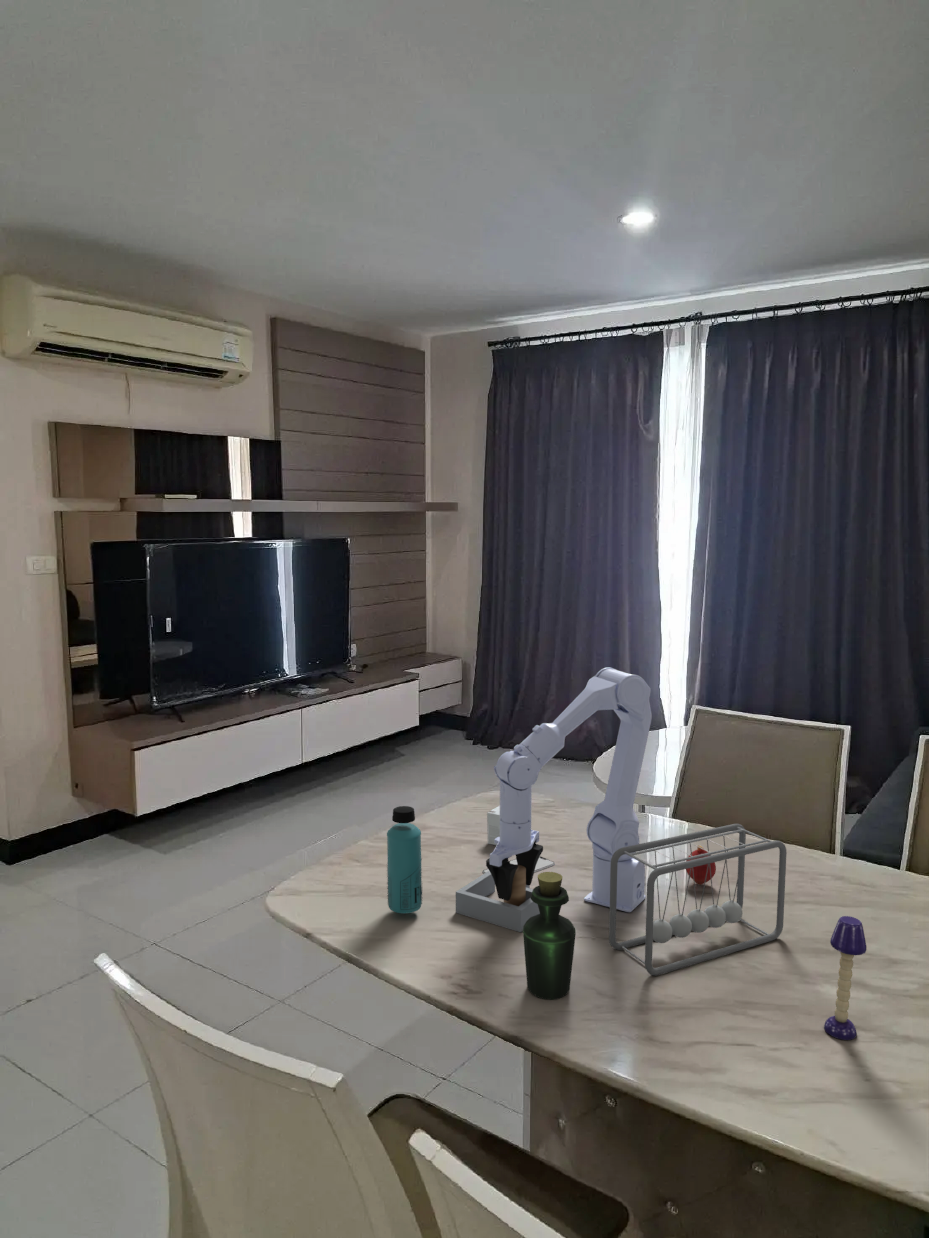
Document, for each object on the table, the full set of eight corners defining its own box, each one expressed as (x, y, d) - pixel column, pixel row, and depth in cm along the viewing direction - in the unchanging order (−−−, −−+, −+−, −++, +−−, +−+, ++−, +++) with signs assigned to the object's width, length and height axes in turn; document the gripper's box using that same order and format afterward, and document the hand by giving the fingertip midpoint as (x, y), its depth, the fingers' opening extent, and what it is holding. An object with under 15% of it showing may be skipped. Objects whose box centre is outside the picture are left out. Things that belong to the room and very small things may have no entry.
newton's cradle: (647, 980, 135) (650, 871, 133) (607, 950, 144) (609, 849, 142) (784, 938, 149) (788, 839, 147) (739, 914, 158) (742, 820, 156)
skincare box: (523, 840, 194) (523, 809, 193) (510, 849, 189) (510, 816, 188) (499, 835, 197) (500, 804, 196) (486, 843, 192) (486, 811, 191)
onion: (712, 879, 173) (713, 840, 172) (717, 891, 167) (719, 851, 167) (682, 877, 174) (684, 839, 173) (687, 889, 168) (688, 850, 167)
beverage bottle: (417, 923, 154) (417, 815, 151) (382, 919, 155) (381, 812, 153) (426, 907, 160) (426, 803, 158) (392, 904, 161) (391, 801, 159)
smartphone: (480, 870, 176) (532, 852, 186) (480, 873, 177) (532, 855, 186) (504, 882, 171) (557, 862, 180) (504, 885, 171) (557, 866, 180)
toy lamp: (851, 1022, 123) (857, 911, 122) (867, 1041, 119) (874, 927, 117) (818, 1023, 123) (824, 912, 121) (833, 1042, 119) (839, 927, 117)
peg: (529, 914, 157) (529, 867, 156) (518, 923, 153) (519, 875, 152) (510, 909, 159) (510, 862, 158) (499, 917, 156) (499, 870, 155)
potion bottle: (541, 969, 138) (542, 861, 136) (584, 986, 133) (587, 875, 131) (511, 990, 132) (512, 878, 130) (555, 1009, 126) (557, 892, 124)
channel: (552, 907, 160) (552, 886, 160) (520, 932, 150) (521, 910, 150) (489, 889, 168) (489, 870, 167) (455, 912, 158) (455, 891, 157)
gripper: (516, 803, 162) (515, 872, 164) (474, 826, 150) (474, 900, 152) (549, 810, 158) (548, 881, 160) (509, 834, 146) (509, 910, 148)
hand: (514, 891), depth 156 cm, fingers open, 7 cm apart
